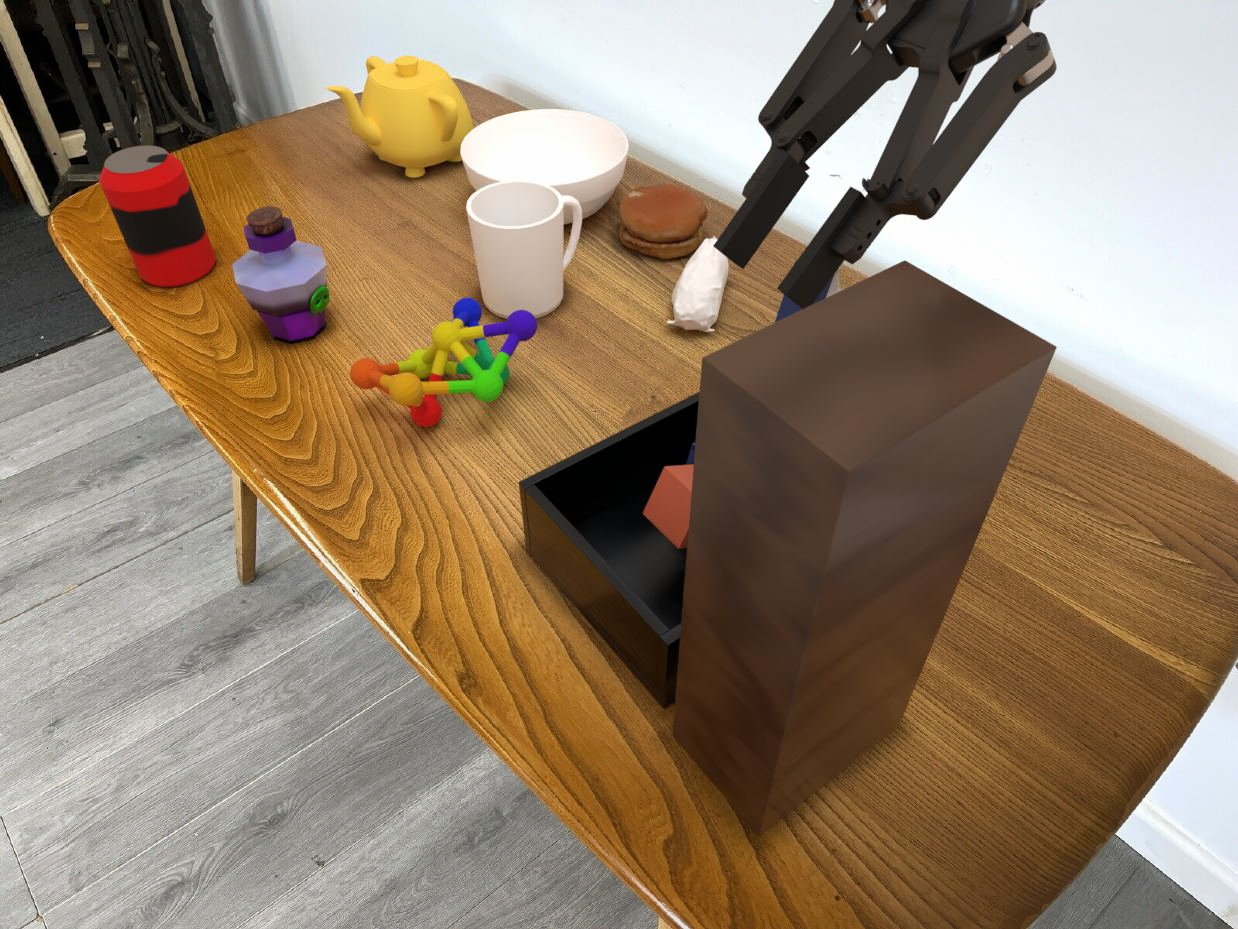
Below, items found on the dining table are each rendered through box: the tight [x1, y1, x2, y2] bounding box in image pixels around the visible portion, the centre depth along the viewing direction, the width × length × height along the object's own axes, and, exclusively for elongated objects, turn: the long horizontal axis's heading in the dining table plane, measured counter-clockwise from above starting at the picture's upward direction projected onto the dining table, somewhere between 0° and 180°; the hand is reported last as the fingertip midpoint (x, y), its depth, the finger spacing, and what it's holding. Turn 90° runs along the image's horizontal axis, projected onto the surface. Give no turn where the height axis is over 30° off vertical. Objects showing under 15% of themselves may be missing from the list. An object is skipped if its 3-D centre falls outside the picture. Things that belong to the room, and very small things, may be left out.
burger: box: [618, 184, 708, 260], centre depth 98 cm, size 10×9×5 cm
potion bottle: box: [231, 205, 331, 345], centre depth 84 cm, size 9×9×12 cm
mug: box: [465, 180, 583, 320], centre depth 88 cm, size 11×9×10 cm
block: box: [643, 464, 694, 549], centre depth 63 cm, size 4×4×4 cm
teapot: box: [325, 55, 474, 178], centre depth 109 cm, size 14×14×12 cm
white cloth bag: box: [666, 235, 730, 333], centre depth 89 cm, size 5×7×10 cm
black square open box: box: [518, 391, 700, 711], centre depth 65 cm, size 17×17×7 cm
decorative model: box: [349, 297, 538, 428], centre depth 78 cm, size 13×9×15 cm
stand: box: [672, 260, 1058, 837], centre depth 47 cm, size 8×12×30 cm, turn 126°
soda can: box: [98, 145, 217, 288], centre depth 91 cm, size 8×8×12 cm
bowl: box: [460, 108, 630, 225], centre depth 102 cm, size 18×18×7 cm
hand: (759, 277), depth 53 cm, fingers open, 5 cm apart
